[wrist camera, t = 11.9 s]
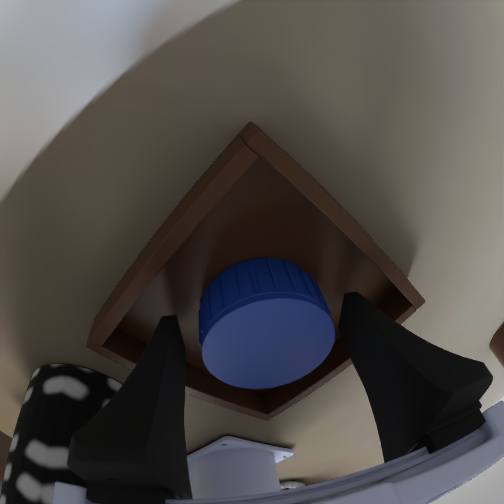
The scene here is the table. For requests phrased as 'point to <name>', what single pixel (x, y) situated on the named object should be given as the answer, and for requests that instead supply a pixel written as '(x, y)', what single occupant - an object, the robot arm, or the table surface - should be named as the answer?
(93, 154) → the table surface
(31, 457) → the spotted tube
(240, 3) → the table surface
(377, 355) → the robot arm
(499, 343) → the jar
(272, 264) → the jar lid
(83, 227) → the table surface
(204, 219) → the tray
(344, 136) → the table surface
